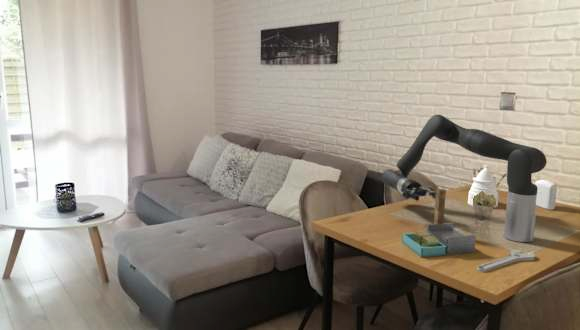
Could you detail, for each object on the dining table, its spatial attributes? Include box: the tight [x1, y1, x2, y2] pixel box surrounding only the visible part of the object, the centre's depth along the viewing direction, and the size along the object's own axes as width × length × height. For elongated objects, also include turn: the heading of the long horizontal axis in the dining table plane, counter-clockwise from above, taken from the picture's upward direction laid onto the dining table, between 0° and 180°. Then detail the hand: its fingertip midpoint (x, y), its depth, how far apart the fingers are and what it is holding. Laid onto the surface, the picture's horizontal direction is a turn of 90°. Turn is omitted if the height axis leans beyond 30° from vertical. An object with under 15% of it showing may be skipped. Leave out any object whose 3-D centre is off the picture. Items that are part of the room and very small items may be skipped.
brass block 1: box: [414, 230, 431, 246], centre depth 154 cm, size 4×4×4 cm
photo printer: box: [534, 179, 558, 211], centre depth 201 cm, size 10×4×12 cm, turn 13°
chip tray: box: [401, 232, 447, 258], centre depth 152 cm, size 9×14×3 cm, turn 12°
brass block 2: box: [421, 236, 439, 248], centre depth 149 cm, size 4×4×4 cm
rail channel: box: [425, 222, 476, 256], centre depth 153 cm, size 10×14×6 cm
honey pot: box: [467, 164, 499, 208], centre depth 205 cm, size 13×13×18 cm
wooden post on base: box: [433, 188, 447, 224], centre depth 165 cm, size 3×9×17 cm, turn 12°
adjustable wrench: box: [476, 249, 536, 273], centre depth 141 cm, size 25×6×2 cm, turn 115°
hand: (428, 197), depth 173 cm, fingers open, 8 cm apart
